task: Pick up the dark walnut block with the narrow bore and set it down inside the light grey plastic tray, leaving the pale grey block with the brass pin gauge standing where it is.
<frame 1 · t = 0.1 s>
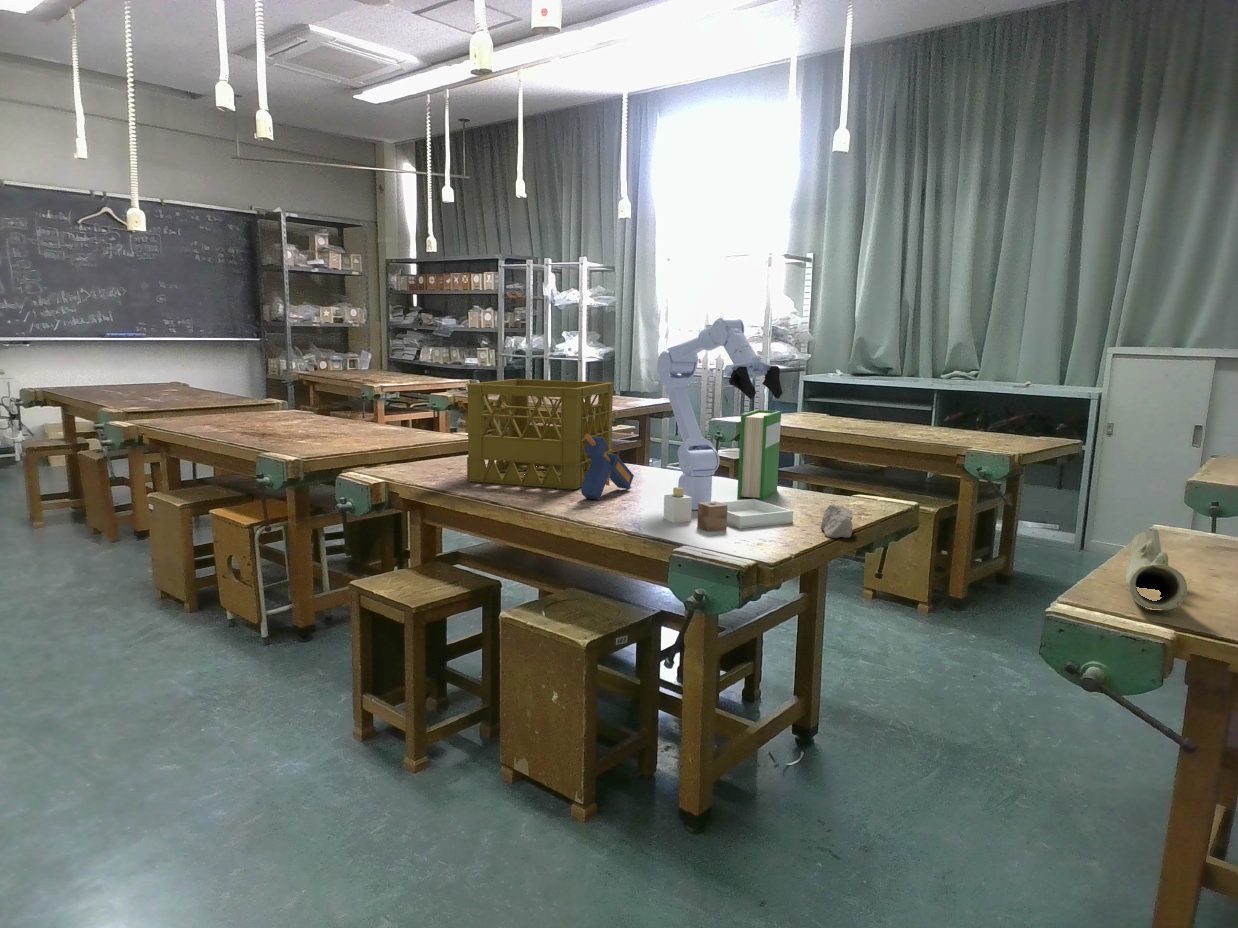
hand: (766, 395, 183), 32 cm above the workbench, tool tilted 50°, fingers open, 7 cm apart
glue gun: (608, 495, 227), on the workbench
tray: (747, 518, 200), on the workbench
pipe: (1140, 594, 146), on the workbench
walnut block: (711, 528, 189), on the workbench
pale grey block: (677, 519, 197), on the workbench
milk crate: (543, 477, 253), on the workbench
hardback book: (757, 495, 232), on the workbench
concrete fragment: (835, 533, 188), on the workbench
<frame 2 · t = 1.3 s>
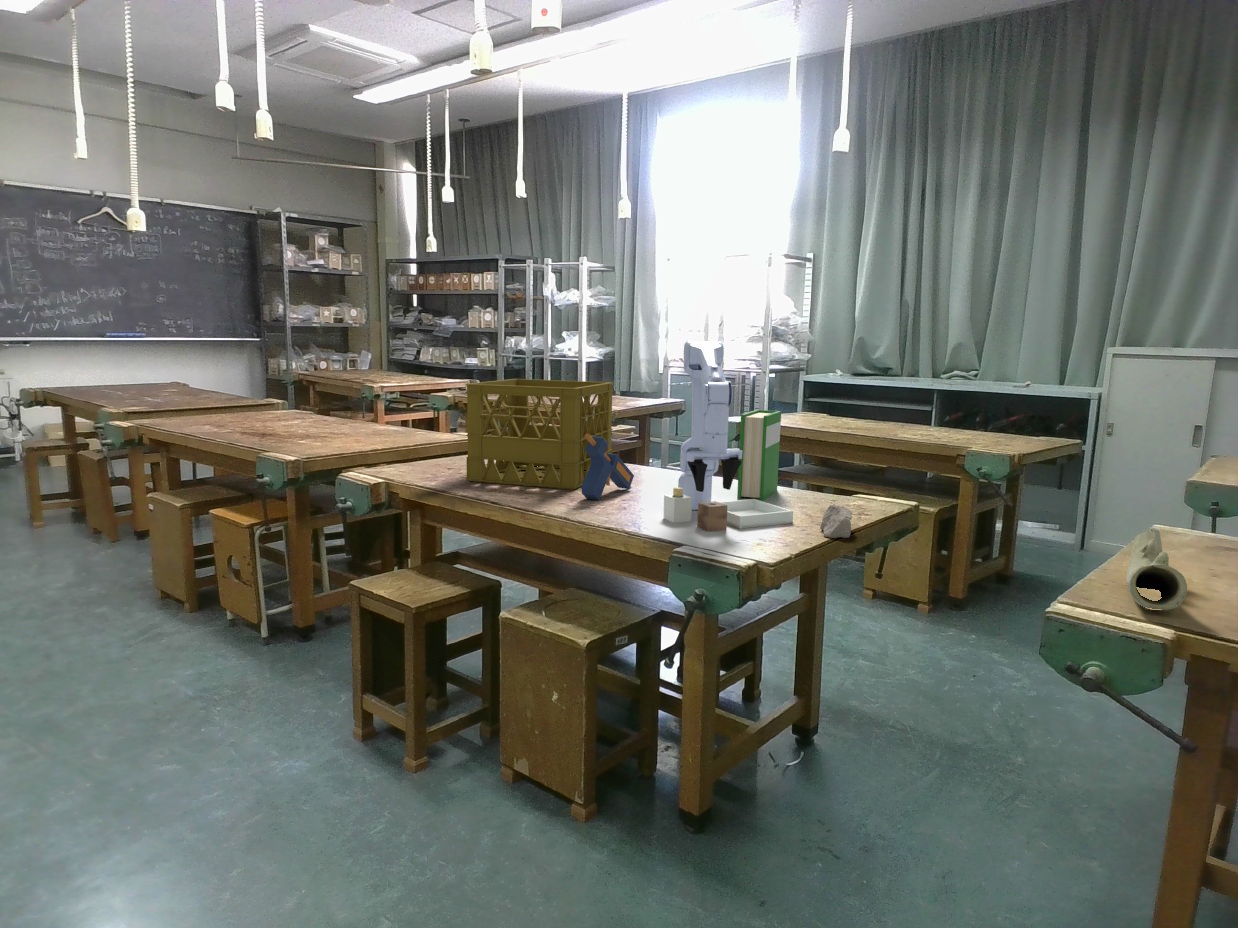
hand: (713, 489, 188), 9 cm above the workbench, tool pointing down, fingers open, 7 cm apart
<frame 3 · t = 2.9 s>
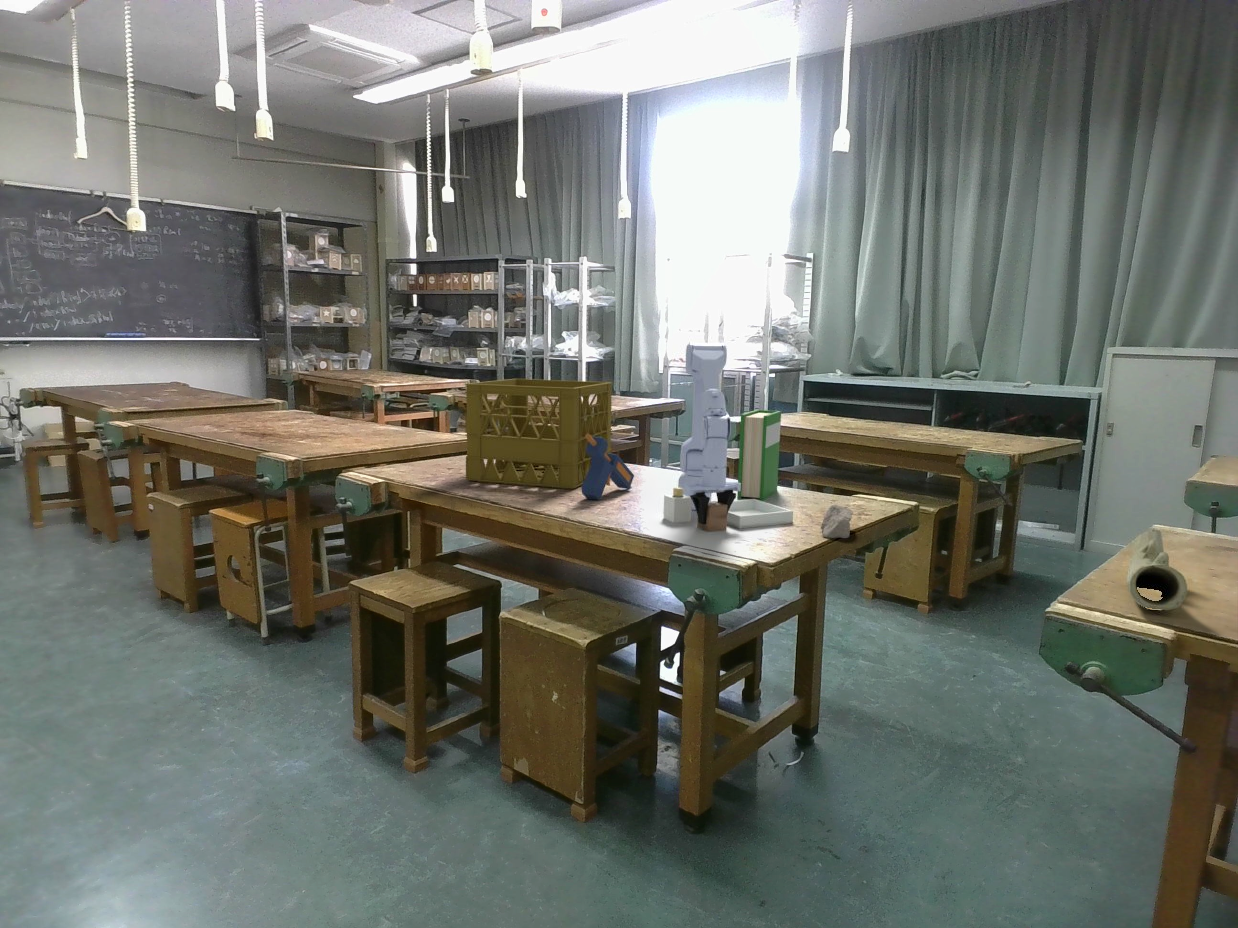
hand: (712, 522, 189), 1 cm above the workbench, tool pointing down, fingers closed on walnut block, 5 cm apart
walnut block: (711, 528, 189), on the workbench, touching gripper
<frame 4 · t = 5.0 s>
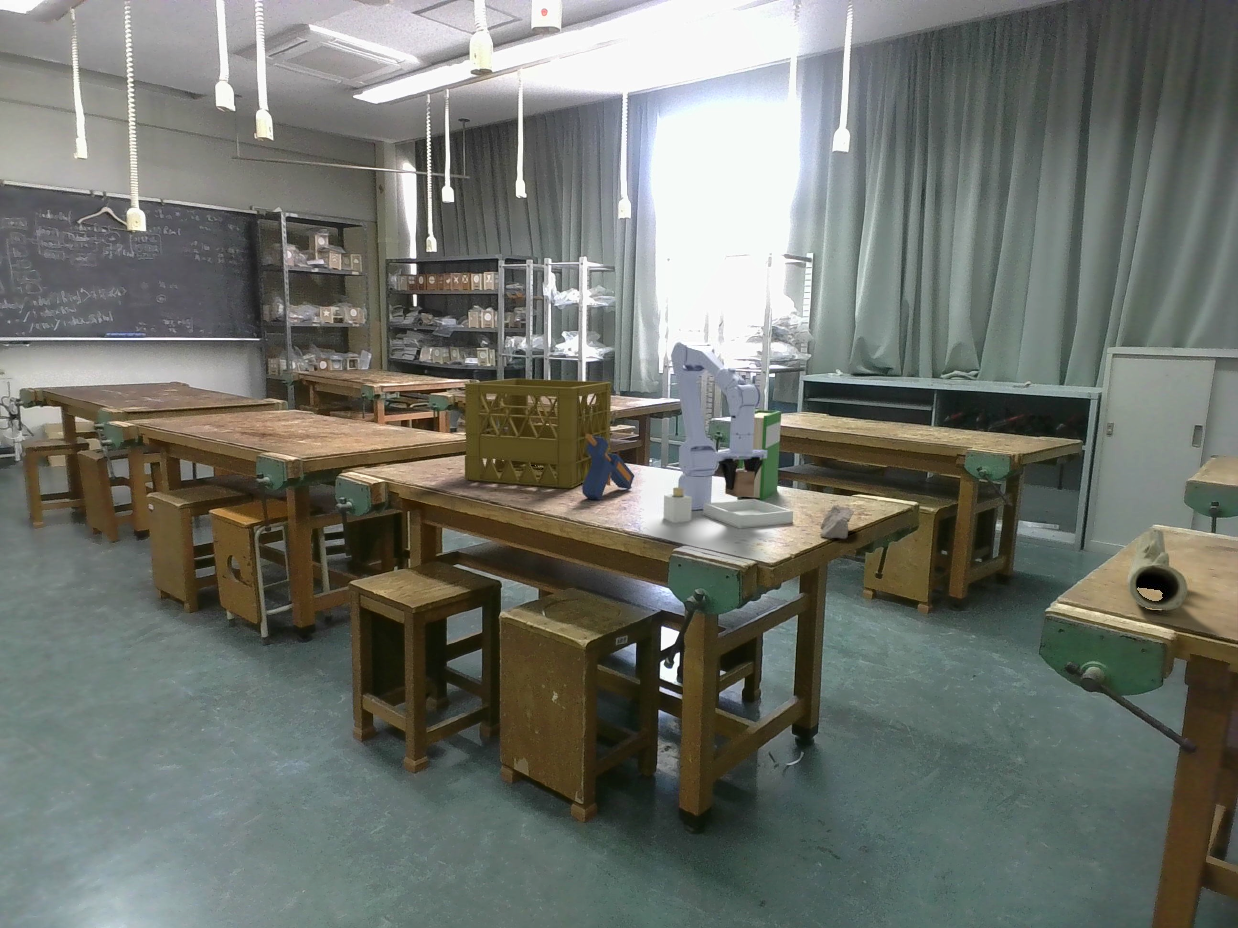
hand: (739, 488, 196), 8 cm above the workbench, tool pointing down, fingers closed on walnut block, 5 cm apart
walnut block: (739, 494, 196), point 7 cm above the workbench, touching gripper
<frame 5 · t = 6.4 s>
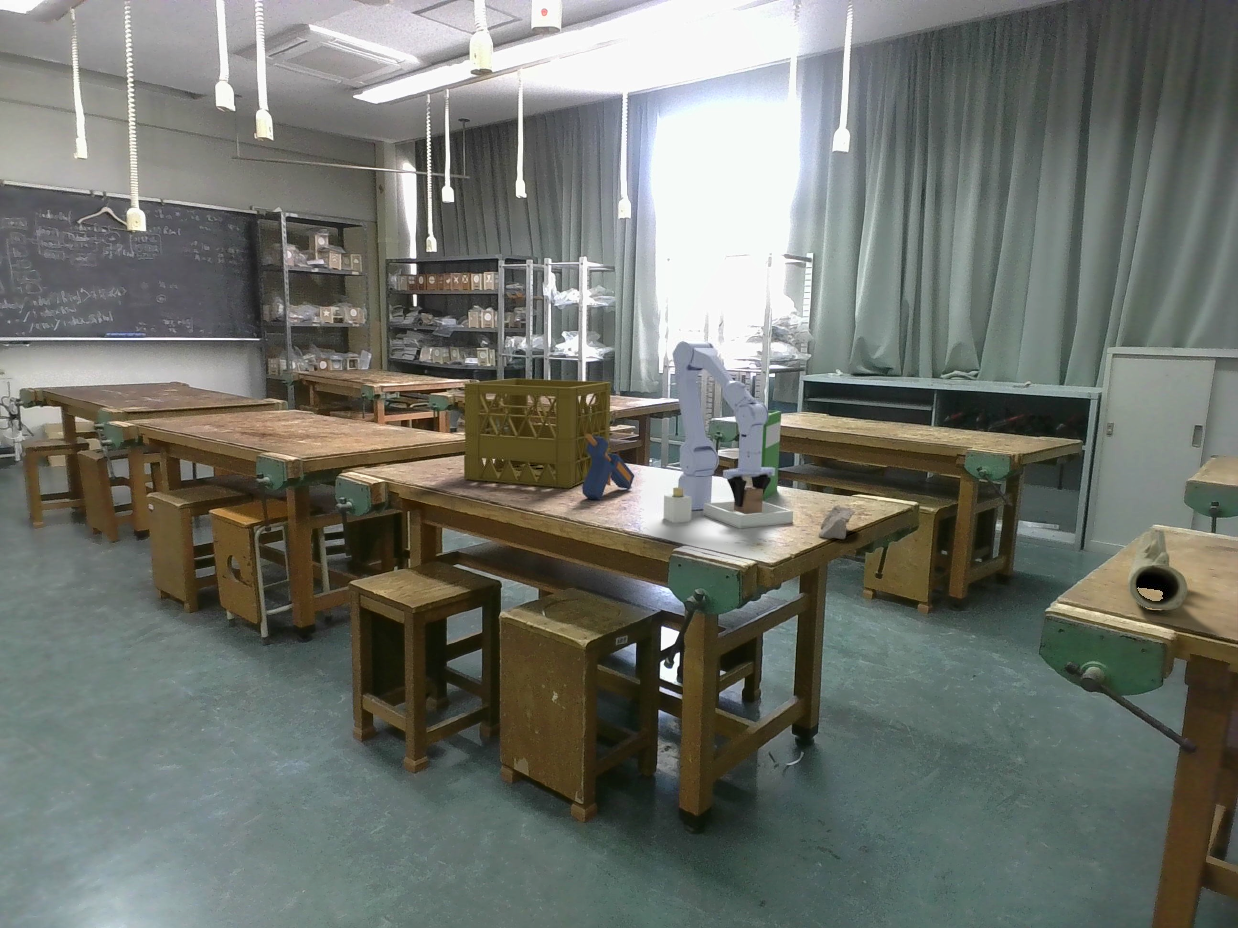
hand: (747, 505, 199), 4 cm above the workbench, tool pointing down, fingers closed on walnut block, 5 cm apart
walnut block: (747, 511, 199), point 2 cm above the workbench, touching gripper
when the fingers open (4 cm above the workbench, at t = 7.1 s): walnut block drops 1 cm, resting on tray.
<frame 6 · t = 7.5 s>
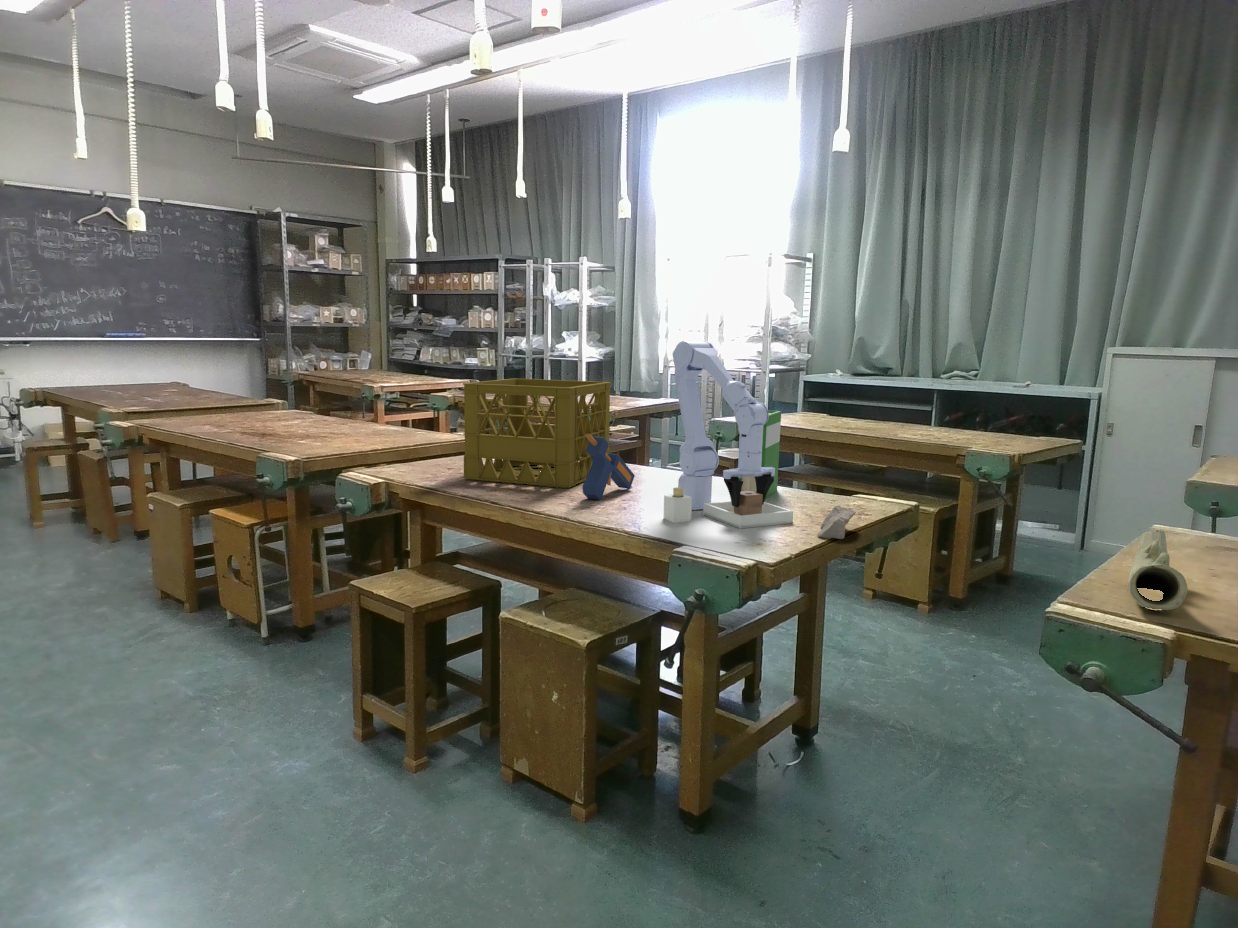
hand: (747, 505, 199), 4 cm above the workbench, tool pointing down, fingers open, 7 cm apart
walnut block: (747, 516, 200), point 1 cm above the workbench, touching tray
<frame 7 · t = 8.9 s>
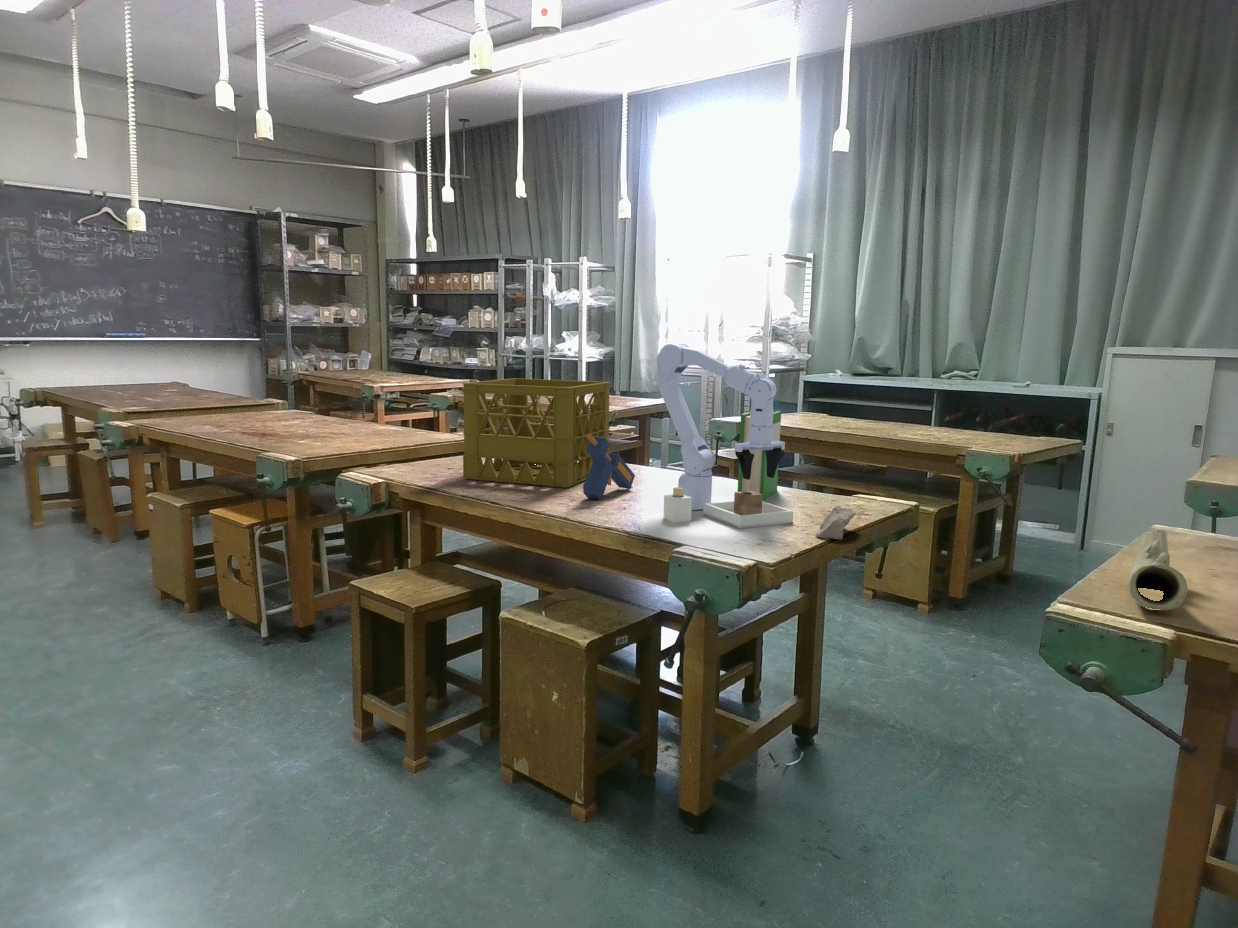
hand: (758, 478, 204), 9 cm above the workbench, tool pointing down, fingers open, 7 cm apart
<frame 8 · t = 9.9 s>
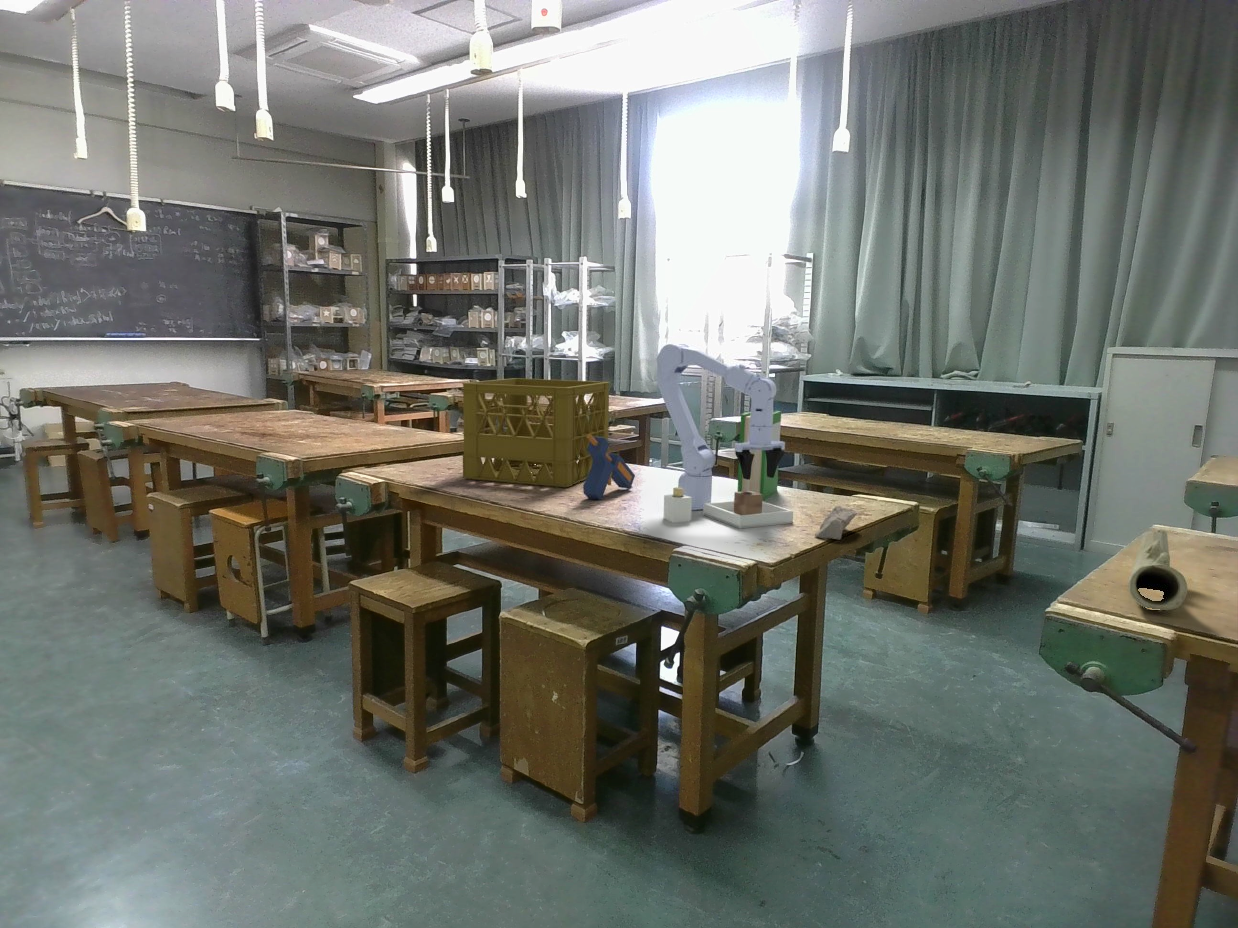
hand: (758, 478, 204), 9 cm above the workbench, tool pointing down, fingers open, 7 cm apart
at the end: walnut block inside the target area on the tray (0.1 cm from its centre), point 0.6 cm above the tray's base; walnut block tilted 0°; pale grey block moved 0.1 cm from its start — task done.
